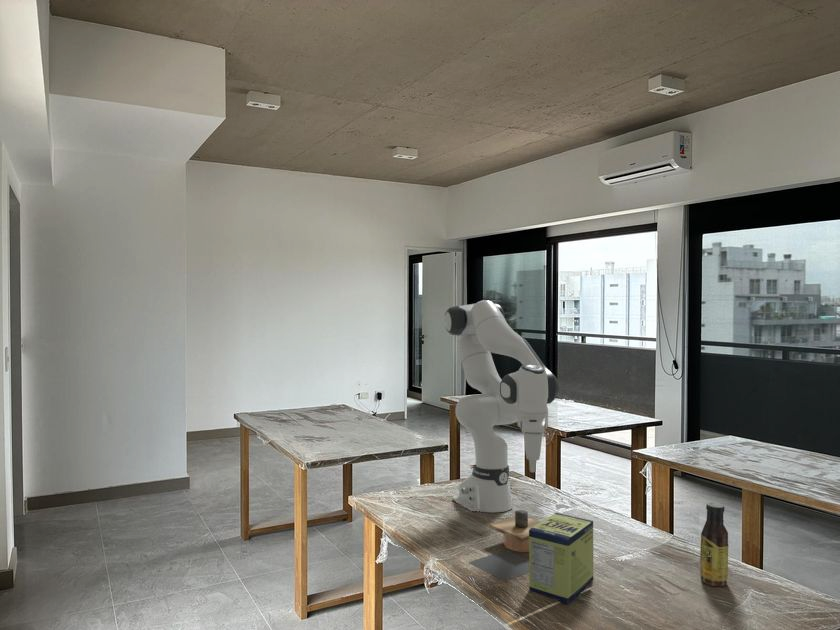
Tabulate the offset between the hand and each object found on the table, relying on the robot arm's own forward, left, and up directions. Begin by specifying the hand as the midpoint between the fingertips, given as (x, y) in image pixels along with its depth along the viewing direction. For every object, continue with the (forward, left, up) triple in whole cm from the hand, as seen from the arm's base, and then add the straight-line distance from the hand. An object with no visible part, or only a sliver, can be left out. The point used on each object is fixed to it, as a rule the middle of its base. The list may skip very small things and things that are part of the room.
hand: (532, 466), depth 181 cm
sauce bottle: (+47, +16, -22) cm, 54 cm away
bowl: (+2, -6, -22) cm, 23 cm away
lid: (+2, -6, -17) cm, 18 cm away
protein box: (+25, -16, -22) cm, 37 cm away
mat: (+9, -19, -22) cm, 30 cm away
